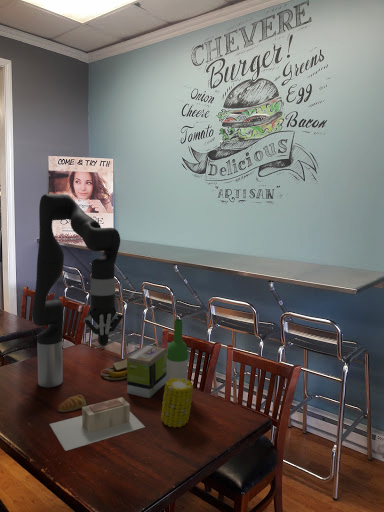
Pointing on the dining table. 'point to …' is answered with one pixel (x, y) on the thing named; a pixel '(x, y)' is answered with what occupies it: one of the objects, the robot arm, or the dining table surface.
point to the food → (177, 402)
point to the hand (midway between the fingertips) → (103, 345)
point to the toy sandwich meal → (116, 371)
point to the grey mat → (77, 436)
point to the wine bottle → (177, 355)
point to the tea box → (146, 371)
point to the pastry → (72, 404)
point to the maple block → (105, 414)
